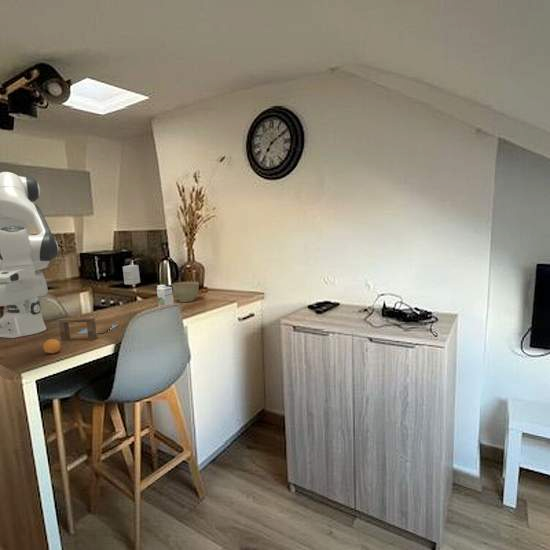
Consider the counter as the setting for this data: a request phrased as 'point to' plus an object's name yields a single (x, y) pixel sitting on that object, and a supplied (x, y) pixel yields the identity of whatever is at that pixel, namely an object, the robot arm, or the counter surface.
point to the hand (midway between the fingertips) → (25, 312)
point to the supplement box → (131, 274)
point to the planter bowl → (185, 291)
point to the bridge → (64, 321)
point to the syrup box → (164, 296)
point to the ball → (51, 346)
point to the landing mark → (87, 331)
